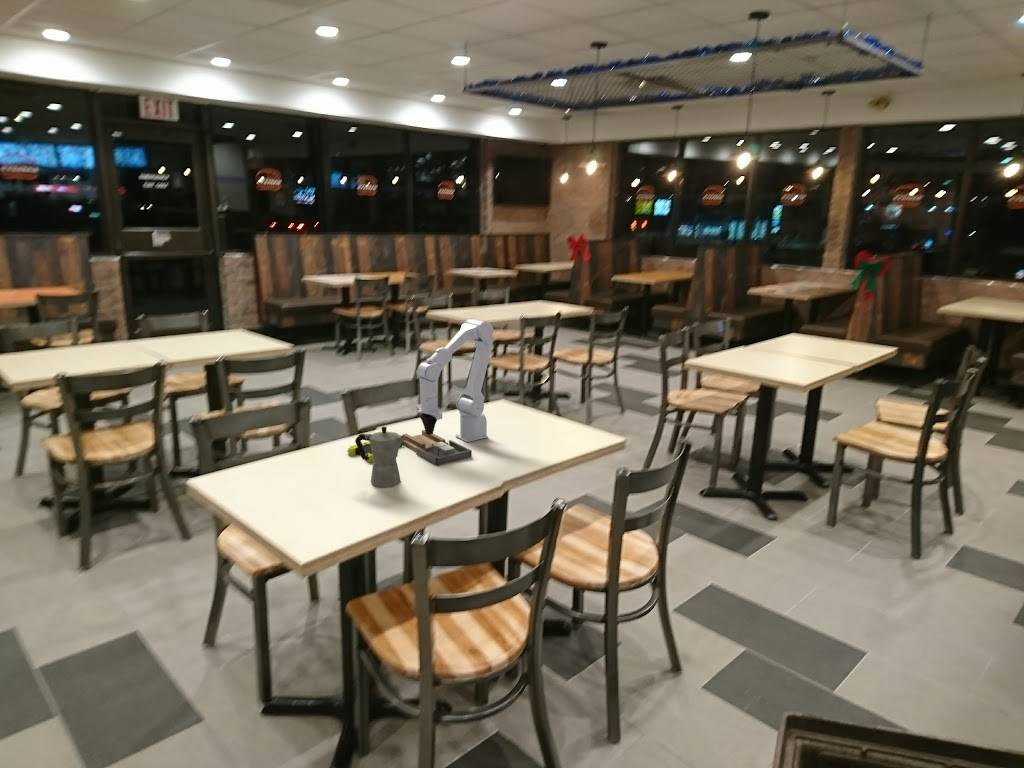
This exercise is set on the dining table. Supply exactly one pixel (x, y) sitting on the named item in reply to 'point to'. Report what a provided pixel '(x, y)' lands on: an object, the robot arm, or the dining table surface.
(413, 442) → the slot board
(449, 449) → the chip front
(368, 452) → the stun gun
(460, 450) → the tray
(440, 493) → the dining table surface
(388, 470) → the coffeepot
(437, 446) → the block
